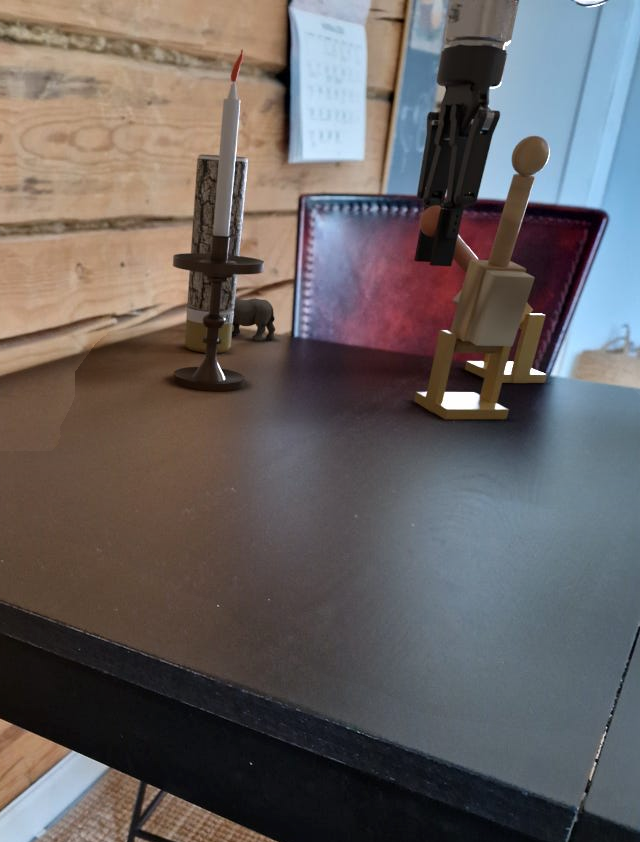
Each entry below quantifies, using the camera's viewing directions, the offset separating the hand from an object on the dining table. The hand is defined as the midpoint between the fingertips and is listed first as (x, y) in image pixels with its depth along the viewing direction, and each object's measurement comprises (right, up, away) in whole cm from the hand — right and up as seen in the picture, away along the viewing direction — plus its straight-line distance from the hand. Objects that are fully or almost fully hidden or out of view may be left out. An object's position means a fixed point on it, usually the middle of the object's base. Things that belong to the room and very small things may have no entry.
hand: (432, 263), depth 112 cm
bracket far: (+13, -12, +10) cm, 21 cm away
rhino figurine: (-24, -1, +25) cm, 35 cm away
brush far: (+4, -3, +3) cm, 6 cm away
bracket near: (+1, -22, -8) cm, 23 cm away
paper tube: (-29, -7, +15) cm, 33 cm away
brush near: (+3, -9, -21) cm, 23 cm away
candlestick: (-29, -17, -3) cm, 34 cm away
